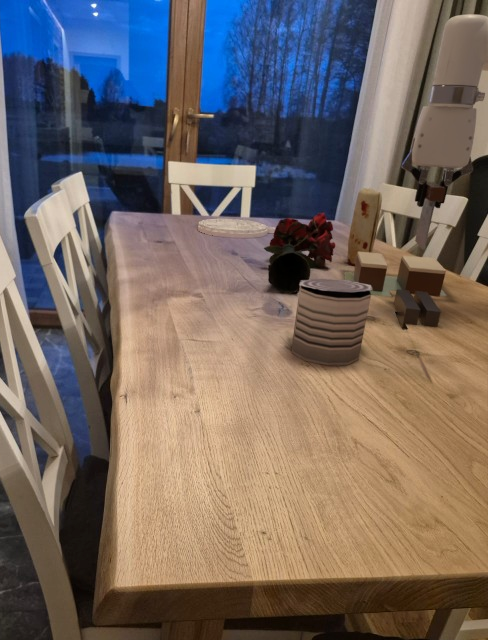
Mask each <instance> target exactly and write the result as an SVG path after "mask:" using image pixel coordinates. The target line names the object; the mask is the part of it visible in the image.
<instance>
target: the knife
mask: <svg viewBox="0 0 488 640" xmlns="http://www.w3.org/2000/svg"><path fill="white" fill-rule="evenodd" d="M439 184H440V183H437V182H436V181H427V183H426V185H427V190H426V195H425V201H424V205H423V206H422V207H421V212H420V216H419V220H418V226H417V230H416V233H415V240H414V241H415V243H416V244H417V245H418V247H420V249H421V250H422V251H425V250H426V246H427V240H428V238H429V237H428V236H429V232H430V227H431V224H432V223H431V222H432V220H433V214H434V210H435V201H438V202H443V198H444V194H445V189H446V188H445V187H443V186H441V185H439Z"/></svg>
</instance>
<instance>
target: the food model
mask: <svg viewBox="0 0 488 640" xmlns="http://www.w3.org/2000/svg"><path fill="white" fill-rule="evenodd" d="M382 202H383V196H382V193H381V192H380V191H377V190H375V189H373V188H366V187H364V188H363V187H362V189H360V190H359V191H358V193H357V196H356V201H355V205H354V210H353V214H352V219H351V225H350V230H349V235H348V240H347V263H348V265H350V266H353V267H355V264H356V259H357V253H358V252H369V253H373V251H374V245H375V241H376V238H377V237H376V236H377V232H378V226H379V220H380V215H381V210H382Z"/></svg>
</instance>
